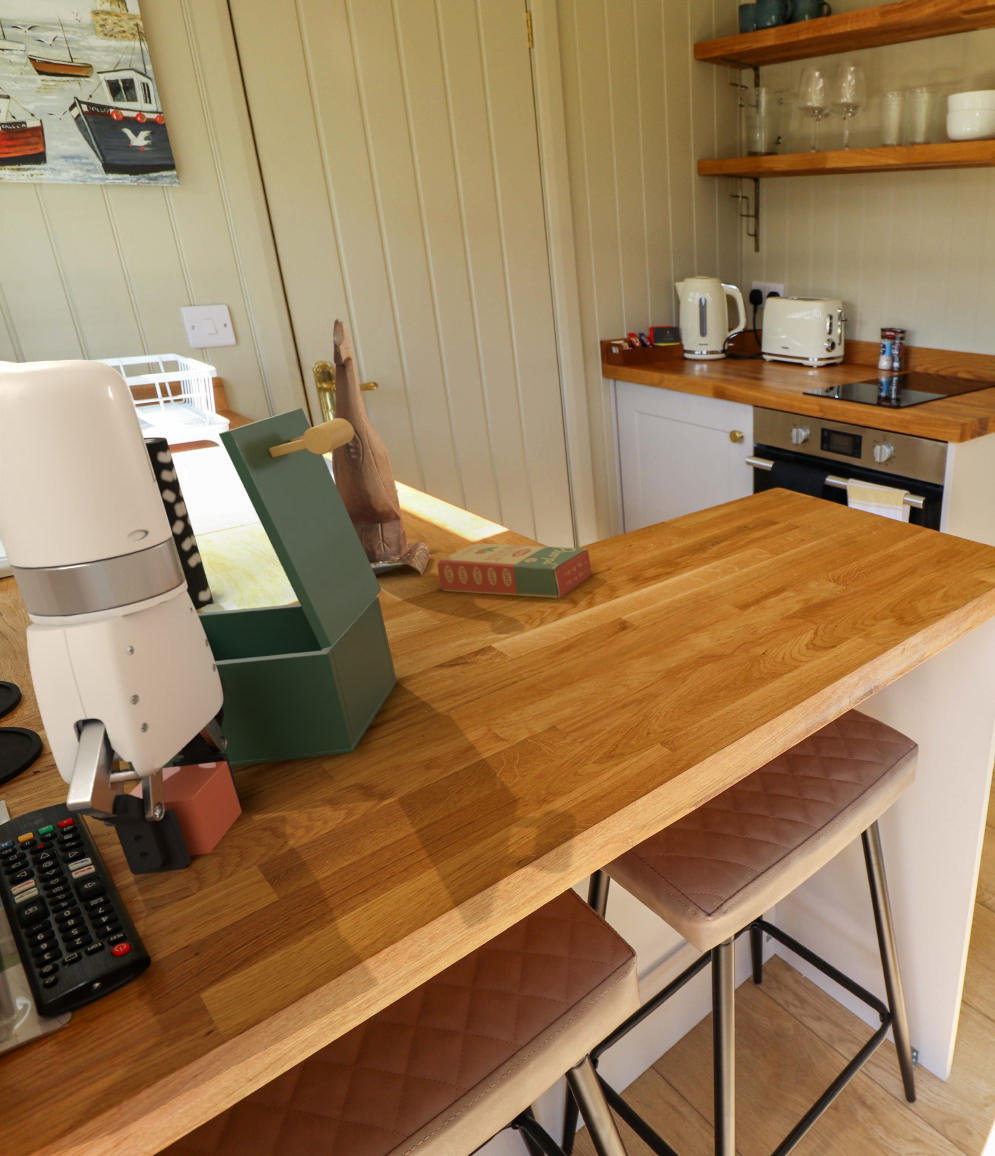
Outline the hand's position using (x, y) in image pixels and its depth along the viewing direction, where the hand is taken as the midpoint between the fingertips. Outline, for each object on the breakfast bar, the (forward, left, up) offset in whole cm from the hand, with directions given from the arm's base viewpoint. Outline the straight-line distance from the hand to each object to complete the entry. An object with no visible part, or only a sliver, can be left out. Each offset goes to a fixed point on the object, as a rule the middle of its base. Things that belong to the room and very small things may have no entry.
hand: (189, 834), depth 54 cm
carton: (+25, +43, -1) cm, 50 cm away
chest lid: (+9, +14, +17) cm, 23 cm away
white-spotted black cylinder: (-14, +55, -1) cm, 57 cm away
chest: (+3, +15, -1) cm, 15 cm away
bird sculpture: (+9, +58, -1) cm, 59 cm away
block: (0, 0, -1) cm, 1 cm away
